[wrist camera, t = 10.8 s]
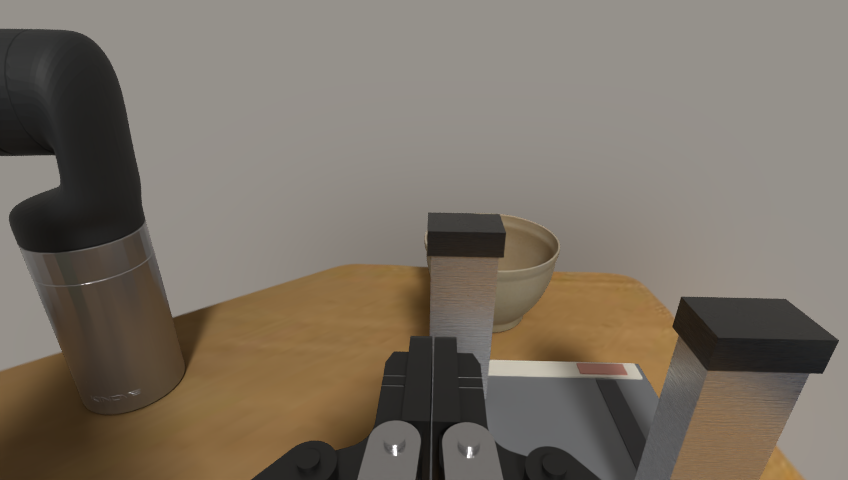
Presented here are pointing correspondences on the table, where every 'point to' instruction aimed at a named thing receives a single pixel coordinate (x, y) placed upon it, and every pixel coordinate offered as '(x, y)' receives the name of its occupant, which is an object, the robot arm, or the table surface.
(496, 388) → the switch unit
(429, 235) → the lever
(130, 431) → the table surface
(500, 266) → the planter bowl
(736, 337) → the lever
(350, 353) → the table surface
